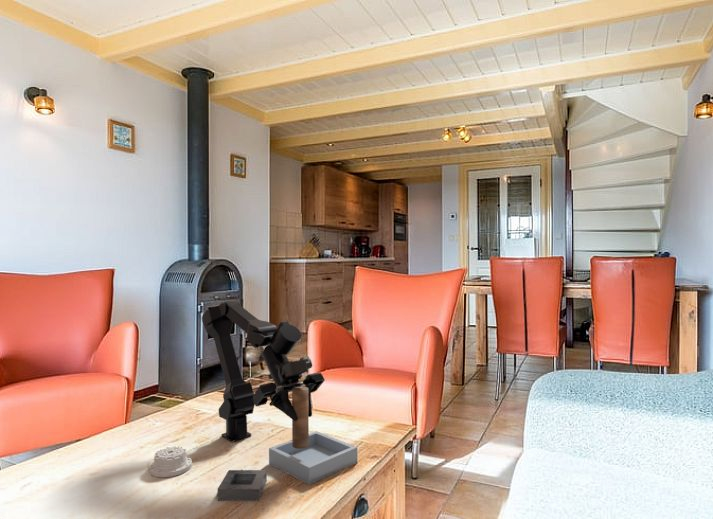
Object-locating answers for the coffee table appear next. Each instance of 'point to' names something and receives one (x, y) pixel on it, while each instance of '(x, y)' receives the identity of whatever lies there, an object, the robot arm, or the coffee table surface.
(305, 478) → the tray
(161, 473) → the mechanical component
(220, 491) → the gray square socket plate
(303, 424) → the pin
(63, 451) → the coffee table surface
